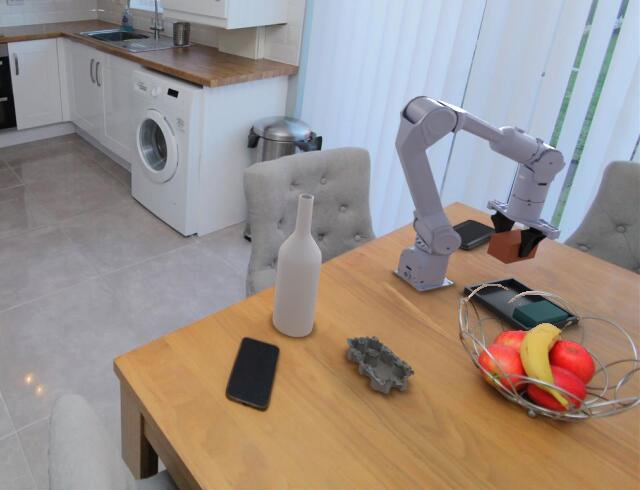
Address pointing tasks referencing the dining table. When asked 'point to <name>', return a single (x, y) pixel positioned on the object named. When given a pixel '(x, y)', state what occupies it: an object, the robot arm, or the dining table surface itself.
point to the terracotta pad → (508, 246)
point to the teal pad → (538, 313)
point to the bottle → (297, 276)
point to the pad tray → (499, 298)
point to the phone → (473, 233)
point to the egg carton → (379, 364)
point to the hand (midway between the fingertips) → (511, 250)
